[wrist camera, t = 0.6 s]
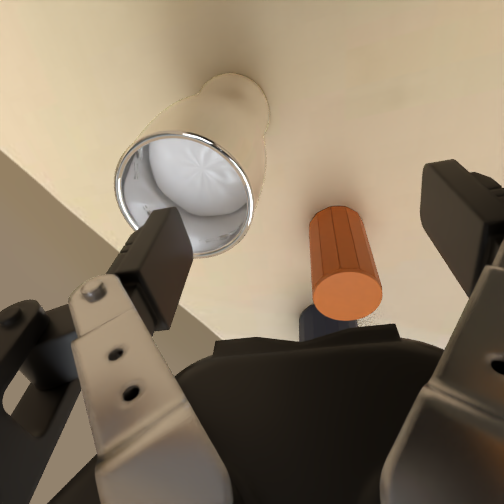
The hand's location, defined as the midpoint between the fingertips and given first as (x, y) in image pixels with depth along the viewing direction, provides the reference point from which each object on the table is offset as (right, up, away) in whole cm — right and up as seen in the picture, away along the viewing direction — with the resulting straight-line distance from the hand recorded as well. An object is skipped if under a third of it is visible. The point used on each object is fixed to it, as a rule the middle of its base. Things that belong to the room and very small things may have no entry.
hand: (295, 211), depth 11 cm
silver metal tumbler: (-3, +10, +16) cm, 20 cm away
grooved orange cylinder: (+7, +1, +22) cm, 23 cm away
